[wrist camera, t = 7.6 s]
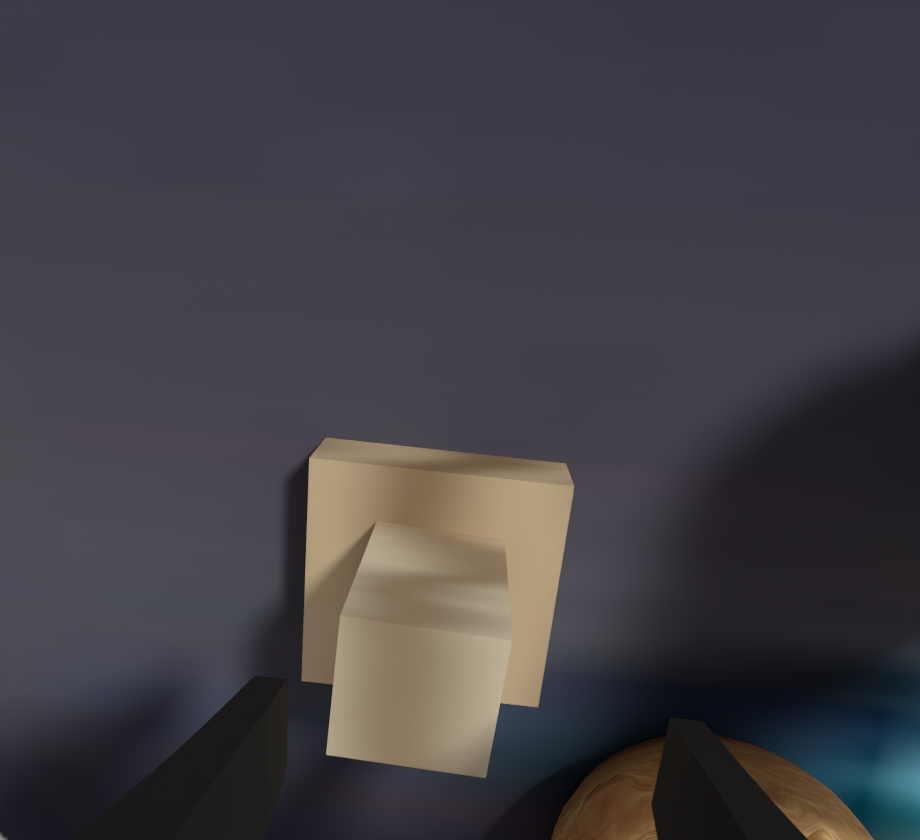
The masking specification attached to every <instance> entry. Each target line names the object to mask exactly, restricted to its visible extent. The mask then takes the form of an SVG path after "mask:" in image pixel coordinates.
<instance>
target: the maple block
mask: <svg viewBox="0 0 920 840" xmlns="http://www.w3.org/2000/svg"><path fill="white" fill-rule="evenodd" d="M511 645H512V630H511V617H510V603H509V589H508V576H507V562H506V548H505V540H500V539H493V538H486V537H479V536H473V535H466V534H459V533H452V532H445V531H439V530H432V529H425V528H418V527H411V526H404V525H398V524H391V523H384V522H376V524H375V527H374V530H373V532H372V535H371V537H370V540H369V542H368V545H367V548H366V550H365V553H364V555H363V558H362V560H361V563H360V566H359V568H358V571H357V573H356V576H355V579H354V581H353V584H352V586H351V589H350V591H349V594H348V597H347V599H346V602H345V604H344V607H343V609H342V612H341V615H340V621H339V631H338V641H337V651H336V661H335V671H334V681H333V691H332V701H331V711H330V721H329V731H328V741H327V751H326V755H330V756H337V757H344V758H351V759H358V760H365V761H372V762H379V763H386V764H392V765H399V766H406V767H413V768H420V769H427V770H434V771H441V772H448V773H454V774H461V775H468V776H475V777H482V778H486V774H487V769H488V764H489V758H490V753H491V748H492V743H493V738H494V733H495V727H496V722H497V717H498V712H499V707H500V702H501V696H502V691H503V686H504V681H505V676H506V671H507V665H508V660H509V655H510V650H511Z"/></svg>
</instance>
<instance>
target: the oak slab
mask: <svg viewBox="0 0 920 840" xmlns="http://www.w3.org/2000/svg"><path fill="white" fill-rule="evenodd" d="M573 492H574V484H573V482H572V479H571V476H570V474H569V471H568V468H567V466H566V464H565V463H556V462H546V461H537V460H528V459H519V458H509V457H500V456H491V455H481V454H472V453H463V452H454V451H444V450H435V449H426V448H417V447H407V446H398V445H389V444H380V443H370V442H361V441H352V440H342V439H333V438H325V439H324V441H323V442H322V443H321V444H320V445H319V447H318V448H317V449H316V450H315V451H314V453H313V454H312V455H311V456H310V457H309V480H308V509H307V538H306V567H305V596H304V625H303V654H302V681H307V682H316V683H325V684H333V681H334V671H335V661H336V651H337V641H338V631H339V621H340V615H341V612H342V609H343V607H344V604H345V602H346V599H347V597H348V594H349V591H350V589H351V586H352V584H353V581H354V579H355V576H356V573H357V571H358V568H359V566H360V563H361V560H362V558H363V555H364V553H365V550H366V548H367V545H368V542H369V540H370V537H371V535H372V532H373V530H374V527H375V524H376V522H384V523H391V524H398V525H404V526H411V527H418V528H425V529H432V530H439V531H445V532H452V533H459V534H466V535H473V536H479V537H486V538H493V539H500V540H505V548H506V562H507V576H508V589H509V603H510V617H511V630H512V645H511V650H510V655H509V660H508V665H507V671H506V676H505V681H504V686H503V691H502V696H501V702H500V703H504V704H513V705H522V706H531V707H538V705H539V699H540V693H541V687H542V681H543V675H544V668H545V662H546V656H547V650H548V644H549V638H550V632H551V626H552V620H553V614H554V608H555V601H556V595H557V589H558V583H559V577H560V571H561V565H562V559H563V553H564V547H565V540H566V534H567V528H568V522H569V516H570V510H571V504H572V498H573Z"/></svg>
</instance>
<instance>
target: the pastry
mask: <svg viewBox="0 0 920 840" xmlns="http://www.w3.org/2000/svg"><path fill="white" fill-rule="evenodd" d="M716 737H717V738H718V739H719V740H720V741H721V742H722V744H723V745H724V746H725V747H726V748H727V749H728V751H729V752H730V753H731V754H732V755H733V756H734V758H735V759H736V760H737V761H738V762H739V763H740V764H741V766H742V767H743V768H744V769H745V770H746V771H747V773H748V774H749V775H750V776H751V777H752V778H753V779H754V781H755V782H756V783H757V784H758V785H759V786H760V787H761V789H762V790H763V791H764V792H765V793H766V794H767V795H768V796H769V798H770V799H771V800H772V801H773V802H774V803H775V804H776V805H777V806H778V808H779V809H780V810H781V811H782V812H783V813H784V814H785V815H786V816H787V817H788V819H789V820H790V821H791V822H792V823H793V824H794V825H795V826H796V827H797V828H798V829H799V830H800V831H801V832H802V834H803V835H804V836H805V837H806V838H807V839H808V840H874V839H873V838H872V837H871V835H870V834H869V833H868V831H867V830H866V829H865V827H864V826H863V825H862V824H861V822H860V821H859V820H858V819H857V818H856V816H855V815H854V814H853V813H852V812H851V810H850V809H849V808H848V807H847V806H846V805H845V804H844V803H843V802H842V801H841V800H840V799H839V798H838V797H837V796H836V795H835V794H834V793H833V792H832V791H831V790H830V789H829V788H828V787H826V786H825V785H824V784H822V783H821V782H819V781H818V780H817V779H815V778H814V777H812V776H811V775H810V774H808V773H807V772H805V771H804V770H802V769H801V768H799V767H798V766H796V765H795V764H794V763H792V762H790V761H788V760H786V759H784V758H782V757H780V756H778V755H776V754H774V753H772V752H770V751H768V750H766V749H763V748H761V747H758V746H756V745H753V744H751V743H748V742H745V741H741V740H738V739H735V738H731V737H726V736H720V735H716ZM665 738H666V736H662V737H658V738H654V739H649V740H646V741H643V742H640V743H637V744H634V745H631V746H629V747H627V748H625V749H623V750H621V751H619V752H618V753H616V754H614V755H612V756H611V757H609V758H608V759H606V760H605V761H603V762H602V763H601V764H599V765H598V766H596V767H595V768H594V769H593V770H592V771H591V773H590V774H589V775H588V776H587V777H586V778H585V779H584V780H583V781H582V783H581V784H580V785H579V787H578V788H577V789H576V791H575V792H574V793H573V795H572V796H571V798H570V799H569V800H568V802H567V803H566V804H565V806H564V807H563V809H562V811H561V814H560V816H559V818H558V820H557V823H556V825H555V827H554V831H553V834H552V838H551V840H658V839H657V833H656V828H655V822H654V817H653V811H652V806H651V803H652V798H653V794H654V789H655V784H656V780H657V775H658V771H659V766H660V761H661V757H662V752H663V747H664V743H665Z"/></svg>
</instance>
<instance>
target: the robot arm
mask: <svg viewBox="0 0 920 840" xmlns="http://www.w3.org/2000/svg"><path fill="white" fill-rule="evenodd" d="M287 687H288V679H280V678H270V677H260V676H255V677H254V678H253V679H251V680H250V681H249V682H248V683H247V684H246V685H245V686H244V687H243V688H242V689H241V690H240V691H239V692H238V693H237V694H236V695H235V696H234V697H233V698H232V699H231V700H230V701H229V702H228V703H227V704H226V705H225V706H224V707H223V708H221V709H220V710H219V711H218V712H217V713H216V714H215V715H214V716H213V717H212V718H211V719H210V720H209V721H208V722H207V723H206V724H205V725H204V726H203V727H202V728H201V729H200V730H199V731H197V732H196V733H195V734H194V735H193V736H192V737H191V738H190V739H189V740H188V741H187V742H185V743H184V744H183V745H182V746H181V747H180V748H179V749H178V750H177V751H176V752H175V753H173V754H172V755H171V756H170V757H169V758H168V759H167V760H166V761H165V762H163V763H162V764H161V765H160V766H159V767H158V768H157V769H155V770H154V771H153V772H152V773H151V774H149V775H148V776H147V777H146V778H145V779H143V780H142V781H141V782H140V783H139V784H138V785H136V786H135V787H134V788H133V789H132V790H130V791H129V792H128V793H127V794H126V795H124V796H123V797H122V798H121V799H120V800H118V801H117V802H116V803H115V804H113V805H112V806H111V807H110V808H108V809H107V810H106V811H105V812H103V813H102V814H101V815H99V816H98V817H97V818H96V819H94V820H93V821H92V822H90V823H89V824H88V825H86V826H85V827H84V828H82V829H81V830H80V831H78V832H77V833H76V834H74V835H73V836H71V837H70V838H69V839H67V840H263V839H264V836H265V834H266V831H267V829H268V827H269V824H270V821H271V818H272V814H273V811H274V808H275V805H276V802H277V799H278V795H279V792H280V788H281V785H282V782H283V778H284V775H285V772H286V768H287ZM651 806H652V811H653V817H654V822H655V828H656V833H657V839H658V840H808V839H807V838H806V837H805V836H804V835H803V834H802V832H801V831H800V830H799V829H798V828H797V827H796V826H795V825H794V824H793V823H792V822H791V821H790V820H789V819H788V817H787V816H786V815H785V814H784V813H783V812H782V811H781V810H780V809H779V808H778V806H777V805H776V804H775V803H774V802H773V801H772V800H771V799H770V798H769V796H768V795H767V794H766V793H765V792H764V791H763V790H762V789H761V787H760V786H759V785H758V784H757V783H756V782H755V781H754V779H753V778H752V777H751V776H750V775H749V774H748V773H747V771H746V770H745V769H744V768H743V767H742V766H741V764H740V763H739V762H738V761H737V760H736V759H735V758H734V756H733V755H732V754H731V753H730V752H729V751H728V749H727V748H726V747H725V746H724V745H723V744H722V742H721V741H720V740H719V739H718V738H717V737H716V735H715V734H714V733H713V732H712V731H711V730H710V729H709V728H708V726H707V725H706V724H705V723H704V722H703V721H696V720H686V719H676V718H670V720H669V724H668V729H667V734H666V738H665V743H664V747H663V752H662V757H661V761H660V766H659V771H658V775H657V780H656V784H655V789H654V794H653V798H652V803H651Z"/></svg>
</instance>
